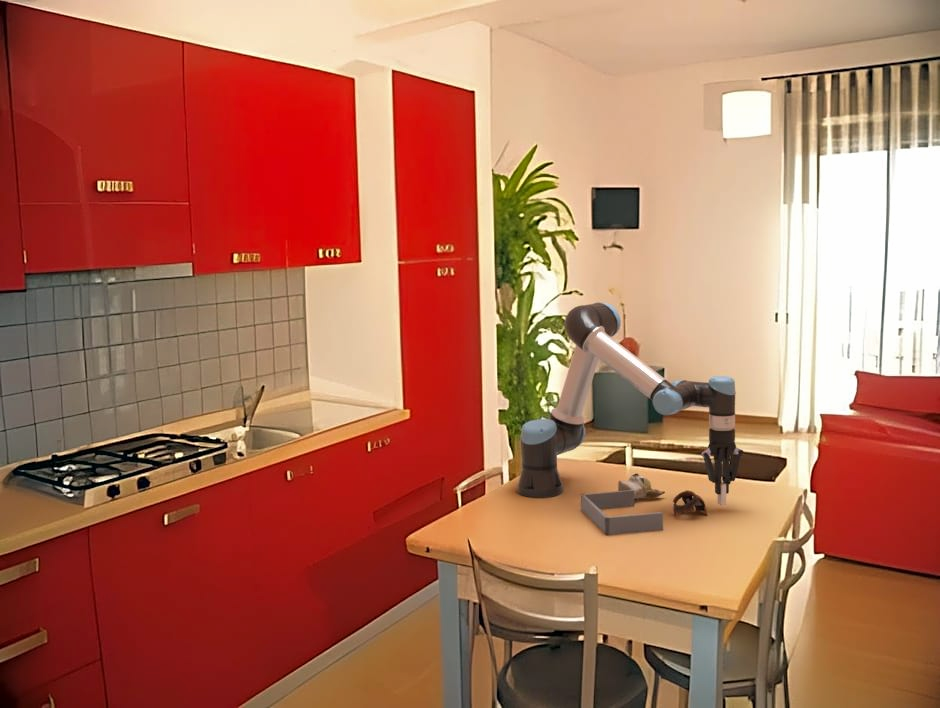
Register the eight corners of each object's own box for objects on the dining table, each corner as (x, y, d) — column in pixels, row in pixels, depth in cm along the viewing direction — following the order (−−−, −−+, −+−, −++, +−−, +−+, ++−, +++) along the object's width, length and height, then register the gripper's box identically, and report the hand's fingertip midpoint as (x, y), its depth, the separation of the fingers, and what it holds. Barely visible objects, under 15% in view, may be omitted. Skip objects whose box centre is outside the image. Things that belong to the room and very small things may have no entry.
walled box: (580, 510, 270) (580, 494, 270) (633, 505, 273) (633, 489, 272) (606, 535, 247) (605, 518, 246) (663, 529, 250) (662, 512, 249)
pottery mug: (713, 520, 258) (702, 499, 255) (683, 533, 259) (672, 513, 257) (703, 498, 269) (692, 478, 266) (675, 511, 271) (664, 491, 268)
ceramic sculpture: (609, 472, 280) (645, 467, 287) (607, 498, 281) (644, 493, 288) (630, 479, 270) (667, 474, 278) (629, 507, 271) (666, 501, 279)
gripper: (707, 432, 257) (707, 509, 260) (748, 429, 259) (747, 505, 262) (696, 427, 264) (696, 502, 268) (736, 424, 267) (736, 498, 270)
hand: (721, 504), depth 265 cm, fingers closed
